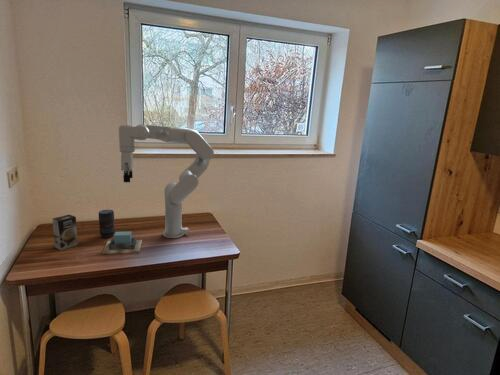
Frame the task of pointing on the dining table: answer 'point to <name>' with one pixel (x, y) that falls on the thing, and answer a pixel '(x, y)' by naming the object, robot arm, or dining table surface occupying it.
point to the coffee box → (65, 232)
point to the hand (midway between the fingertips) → (128, 180)
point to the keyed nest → (122, 247)
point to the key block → (123, 237)
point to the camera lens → (106, 223)
